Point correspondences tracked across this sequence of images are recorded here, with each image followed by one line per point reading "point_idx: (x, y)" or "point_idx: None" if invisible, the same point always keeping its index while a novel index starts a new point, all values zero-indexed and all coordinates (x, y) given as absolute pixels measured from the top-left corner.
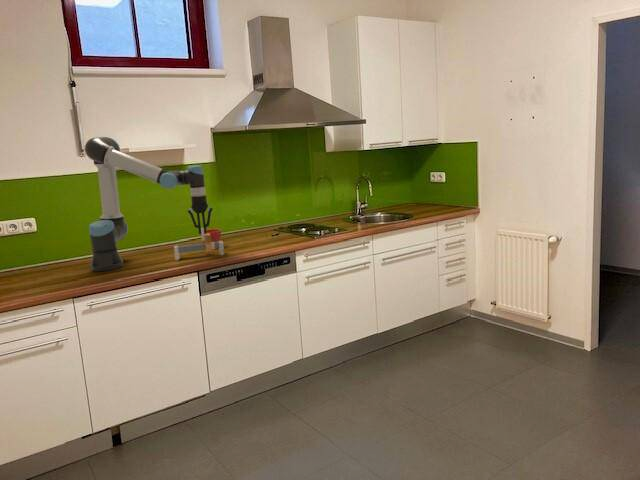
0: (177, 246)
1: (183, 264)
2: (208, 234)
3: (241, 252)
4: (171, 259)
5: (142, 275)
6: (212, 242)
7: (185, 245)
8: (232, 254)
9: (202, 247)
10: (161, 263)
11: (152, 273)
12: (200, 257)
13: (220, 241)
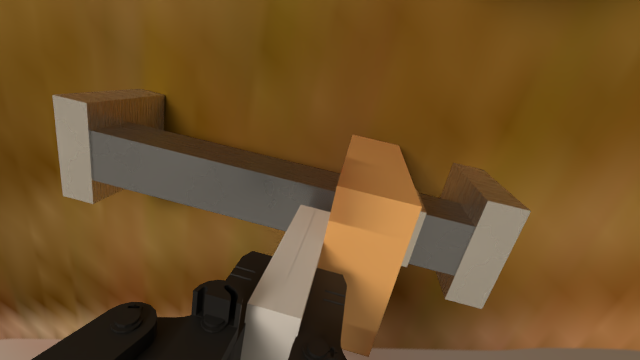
0: (84, 152)
1: (179, 290)
2: (374, 273)
3: (586, 267)
4: None
5: (18, 337)
6: None
7: (153, 154)
8: (500, 275)
9: None
10: None
11: (52, 338)
12: None
13: (490, 244)
